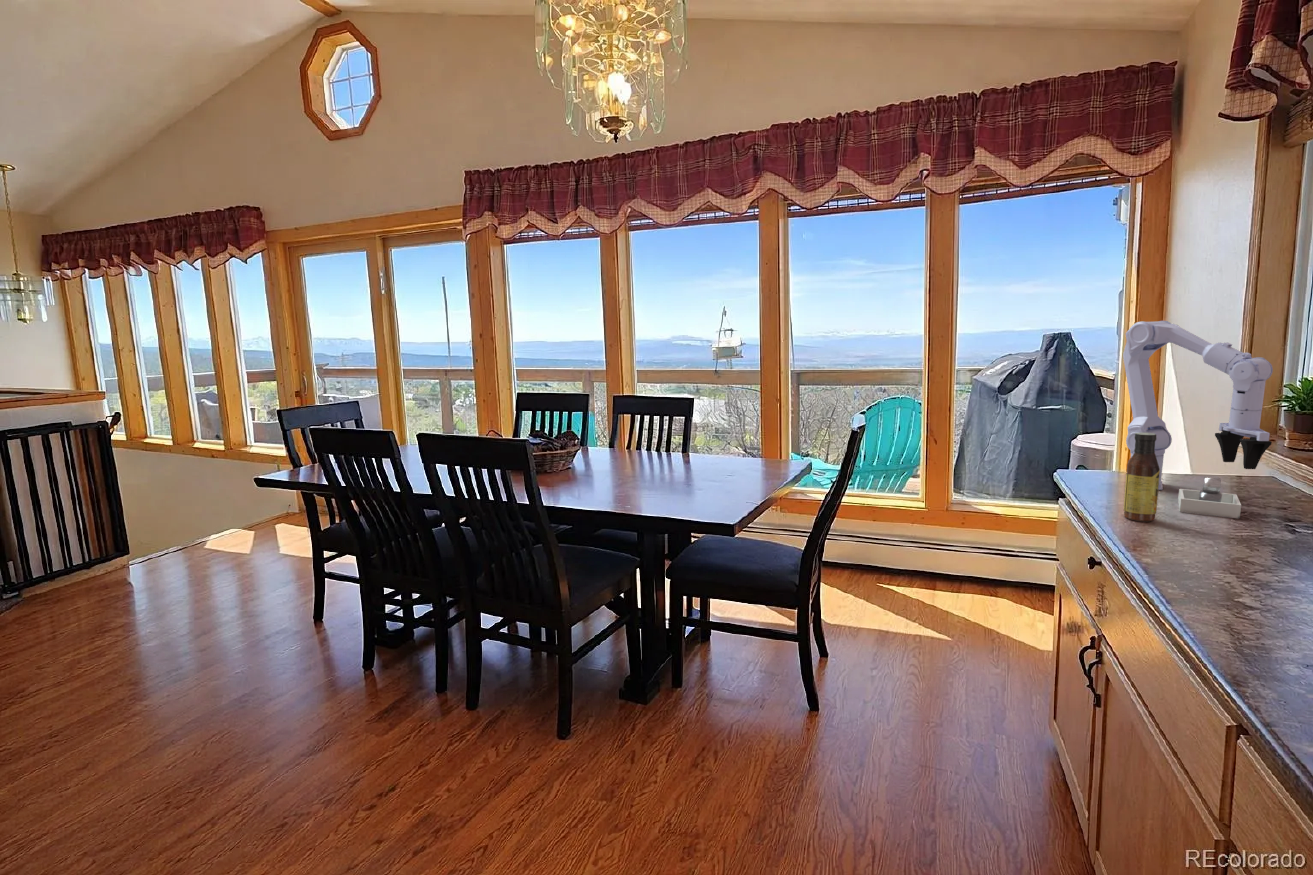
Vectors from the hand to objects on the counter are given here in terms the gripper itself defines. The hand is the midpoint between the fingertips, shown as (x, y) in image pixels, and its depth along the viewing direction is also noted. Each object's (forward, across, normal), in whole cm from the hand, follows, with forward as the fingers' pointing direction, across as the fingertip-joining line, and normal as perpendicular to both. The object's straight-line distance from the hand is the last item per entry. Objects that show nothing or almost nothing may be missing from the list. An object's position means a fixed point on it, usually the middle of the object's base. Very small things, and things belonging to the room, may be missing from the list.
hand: (1238, 465), depth 169 cm
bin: (+10, +4, -8) cm, 14 cm away
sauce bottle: (+10, +13, -28) cm, 32 cm away
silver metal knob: (+9, +4, -8) cm, 13 cm away
